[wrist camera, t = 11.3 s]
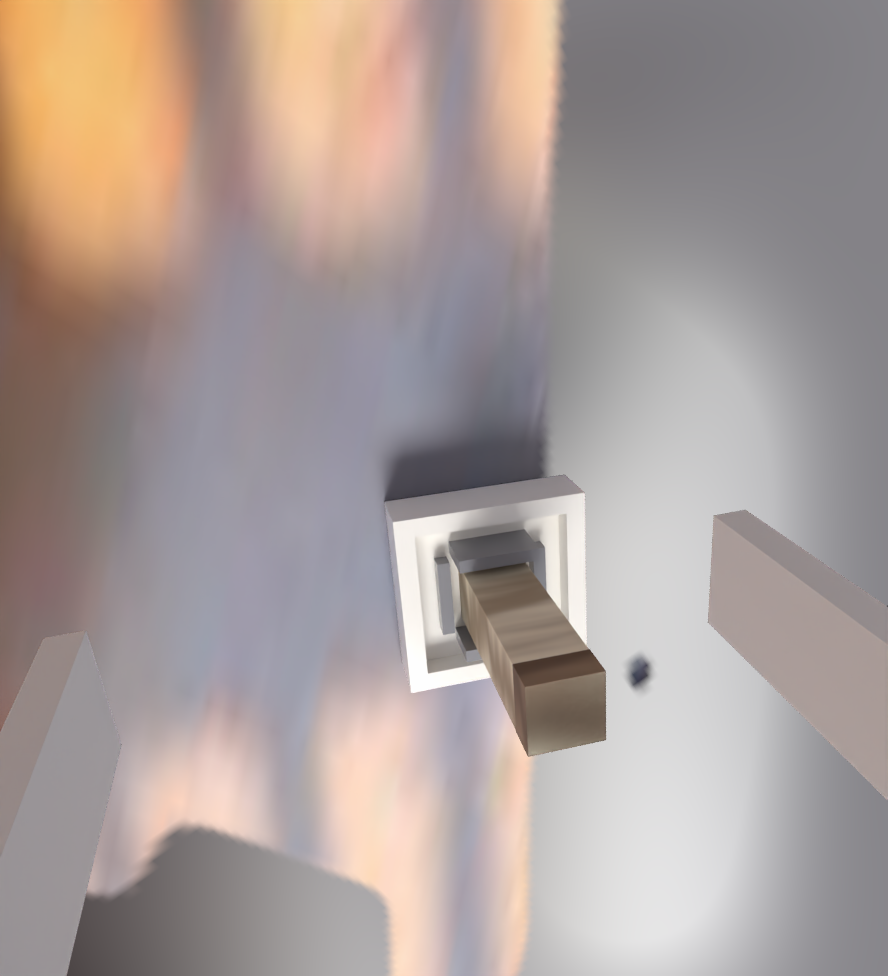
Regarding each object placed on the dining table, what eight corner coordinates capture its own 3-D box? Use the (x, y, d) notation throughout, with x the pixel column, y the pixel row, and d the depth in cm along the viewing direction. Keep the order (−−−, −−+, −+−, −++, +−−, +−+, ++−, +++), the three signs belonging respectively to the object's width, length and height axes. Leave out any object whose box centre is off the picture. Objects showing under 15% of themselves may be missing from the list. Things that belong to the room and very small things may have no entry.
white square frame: (384, 501, 49) (396, 532, 45) (564, 474, 51) (594, 501, 47) (402, 663, 53) (415, 706, 49) (567, 632, 56) (595, 671, 51)
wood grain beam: (457, 561, 49) (524, 687, 37) (518, 551, 50) (605, 671, 37) (461, 617, 51) (528, 756, 38) (520, 606, 52) (605, 740, 39)
